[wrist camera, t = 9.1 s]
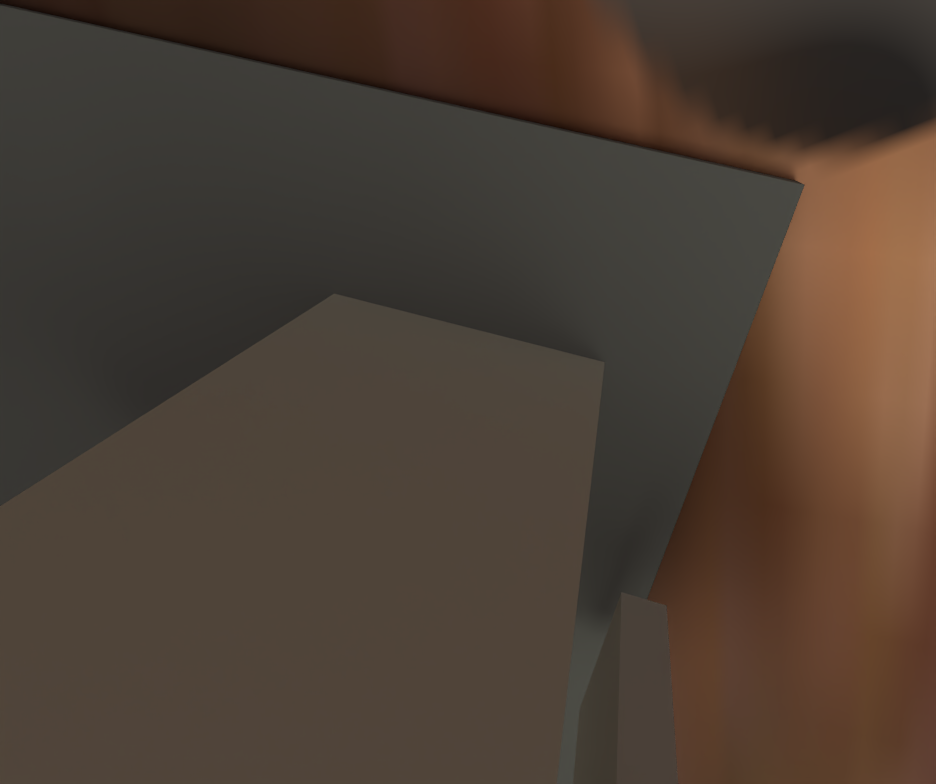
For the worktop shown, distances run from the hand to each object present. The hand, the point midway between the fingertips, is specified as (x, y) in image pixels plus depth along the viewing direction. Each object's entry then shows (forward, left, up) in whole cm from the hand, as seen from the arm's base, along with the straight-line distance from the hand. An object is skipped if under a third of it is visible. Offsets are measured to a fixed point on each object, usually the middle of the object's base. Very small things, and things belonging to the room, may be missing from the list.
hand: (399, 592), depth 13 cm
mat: (-6, 0, -3) cm, 7 cm away
